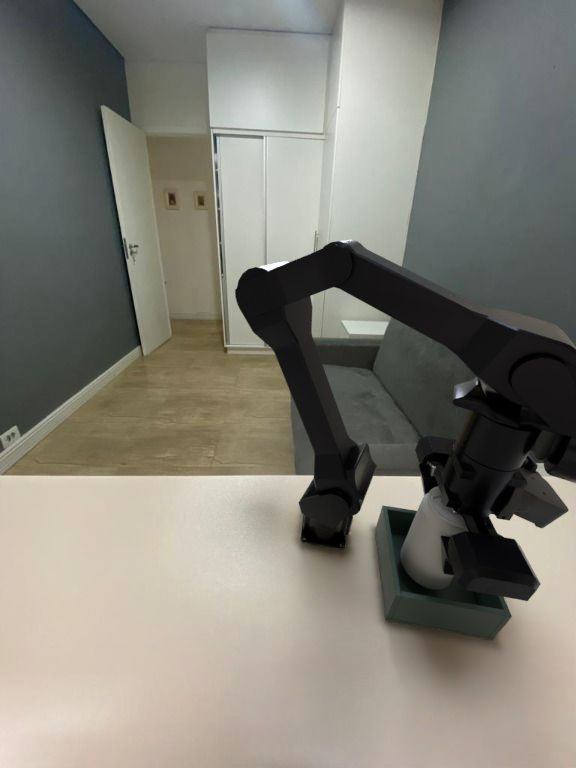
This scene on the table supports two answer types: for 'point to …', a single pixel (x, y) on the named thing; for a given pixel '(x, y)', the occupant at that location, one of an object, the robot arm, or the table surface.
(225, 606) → the table surface
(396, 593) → the shallow open box
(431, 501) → the beverage can
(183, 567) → the table surface
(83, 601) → the table surface
